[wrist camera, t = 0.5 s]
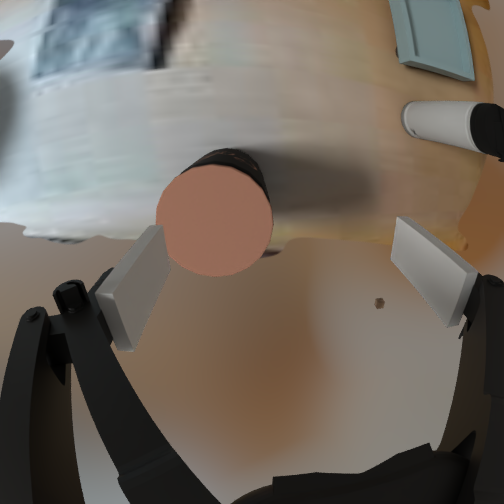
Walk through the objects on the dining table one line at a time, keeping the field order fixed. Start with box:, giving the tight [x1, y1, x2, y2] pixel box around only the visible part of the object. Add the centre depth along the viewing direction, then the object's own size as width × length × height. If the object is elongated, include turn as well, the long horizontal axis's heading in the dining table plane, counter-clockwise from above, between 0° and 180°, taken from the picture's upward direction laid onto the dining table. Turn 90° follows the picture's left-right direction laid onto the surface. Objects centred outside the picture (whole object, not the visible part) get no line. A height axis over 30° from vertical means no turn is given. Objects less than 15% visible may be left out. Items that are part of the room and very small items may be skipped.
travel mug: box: [401, 101, 504, 162], centre depth 27 cm, size 6×7×20 cm
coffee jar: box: [156, 148, 274, 277], centre depth 32 cm, size 11×11×18 cm
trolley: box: [389, 0, 475, 81], centre depth 22 cm, size 18×14×12 cm
